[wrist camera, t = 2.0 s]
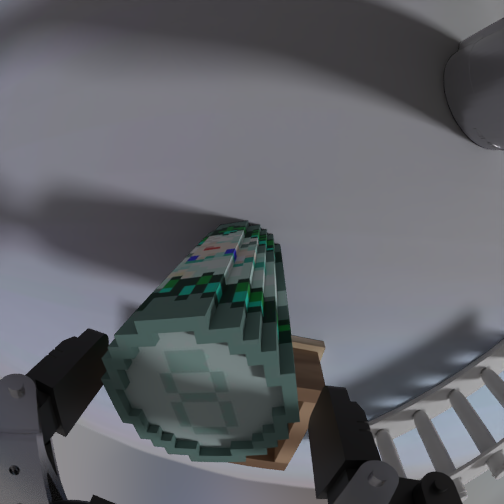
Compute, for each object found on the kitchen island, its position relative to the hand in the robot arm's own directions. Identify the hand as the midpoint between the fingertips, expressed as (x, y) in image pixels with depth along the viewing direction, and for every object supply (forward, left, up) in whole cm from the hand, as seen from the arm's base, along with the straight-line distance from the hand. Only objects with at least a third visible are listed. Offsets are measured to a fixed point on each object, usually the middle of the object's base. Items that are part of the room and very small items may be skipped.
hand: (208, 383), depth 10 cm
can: (0, 0, -14) cm, 14 cm away
